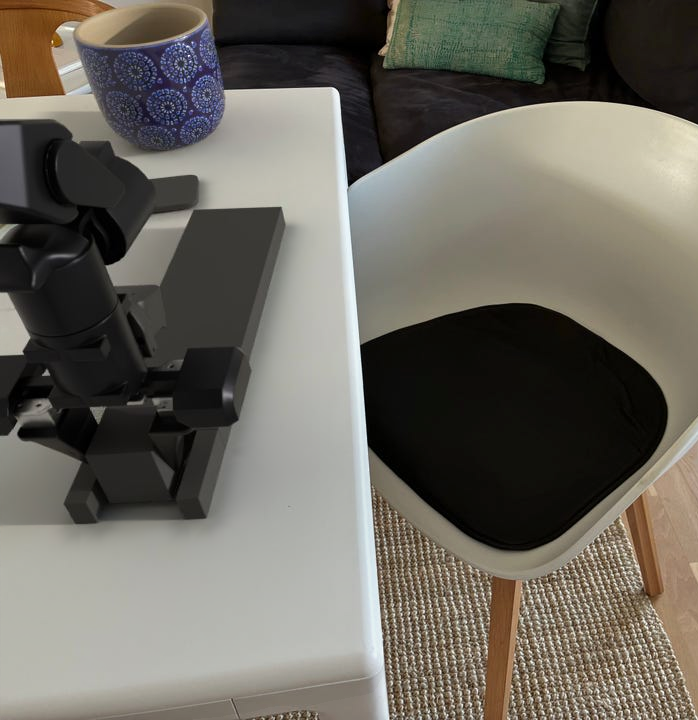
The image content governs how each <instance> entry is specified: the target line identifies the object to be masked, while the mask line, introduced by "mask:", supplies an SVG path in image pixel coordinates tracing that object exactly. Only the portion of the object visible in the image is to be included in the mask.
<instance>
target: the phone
mask: <svg viewBox="0 0 698 720" xmlns="http://www.w3.org/2000/svg"><path fill="white" fill-rule="evenodd" d="M148 179H149V180H150V181H151V182H152V183H153V185H154V187H155V190H156V195H157V202H156V207H155V209H154V211H153V213H162V212H169V211H171V212H172V211H178V210H185V209H191V208H194V207H195V206H197V205H198V203H199V196H200V195H199V193H200V180H199V177H198V176H197V175H196V174H183V175H174V176H165V177H156V178H148ZM153 213H152V214H153Z"/></svg>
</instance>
